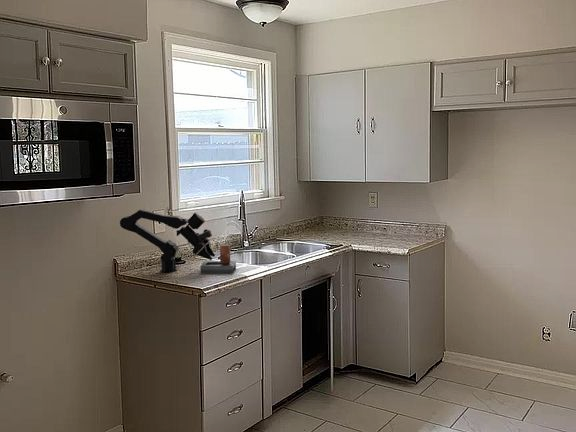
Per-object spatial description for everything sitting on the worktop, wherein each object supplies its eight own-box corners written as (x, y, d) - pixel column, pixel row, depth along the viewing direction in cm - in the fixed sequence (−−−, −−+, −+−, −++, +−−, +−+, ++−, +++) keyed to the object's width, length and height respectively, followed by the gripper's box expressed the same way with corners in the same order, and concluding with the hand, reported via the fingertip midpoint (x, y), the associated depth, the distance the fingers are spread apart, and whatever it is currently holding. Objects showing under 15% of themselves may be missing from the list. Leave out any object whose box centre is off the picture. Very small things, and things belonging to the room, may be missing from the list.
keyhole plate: (200, 273, 299) (200, 265, 299) (204, 268, 312) (204, 261, 312) (232, 273, 299) (232, 265, 299) (235, 268, 312) (235, 260, 311)
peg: (221, 272, 302) (221, 246, 301) (218, 270, 307) (218, 244, 306) (232, 271, 304) (231, 245, 303) (229, 269, 309) (228, 244, 308)
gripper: (198, 227, 294) (221, 249, 295) (205, 222, 313) (226, 243, 313) (182, 243, 295) (205, 265, 296) (190, 237, 314) (211, 258, 315)
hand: (213, 257), depth 305 cm, fingers open, 9 cm apart
